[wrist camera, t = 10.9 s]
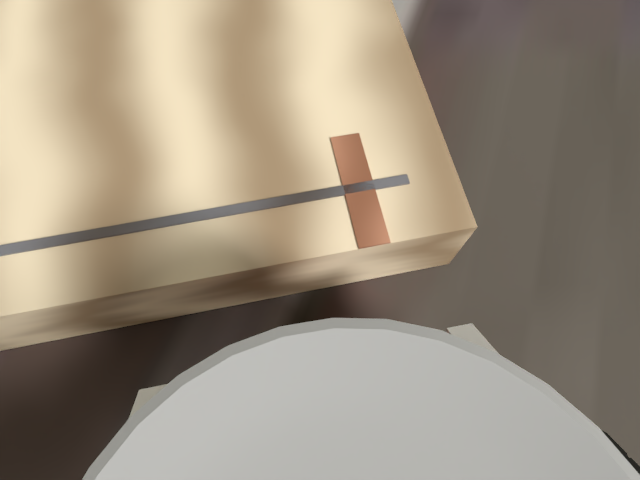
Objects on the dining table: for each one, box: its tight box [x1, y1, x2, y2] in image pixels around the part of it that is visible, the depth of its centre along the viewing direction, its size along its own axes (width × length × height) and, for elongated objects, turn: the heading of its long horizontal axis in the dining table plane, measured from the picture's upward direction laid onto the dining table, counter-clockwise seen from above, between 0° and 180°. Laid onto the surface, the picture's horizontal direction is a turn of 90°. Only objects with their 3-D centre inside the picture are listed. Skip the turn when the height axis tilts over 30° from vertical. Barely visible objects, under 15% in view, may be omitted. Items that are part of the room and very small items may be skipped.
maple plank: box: [0, 0, 477, 351], centre depth 21 cm, size 28×20×4 cm
